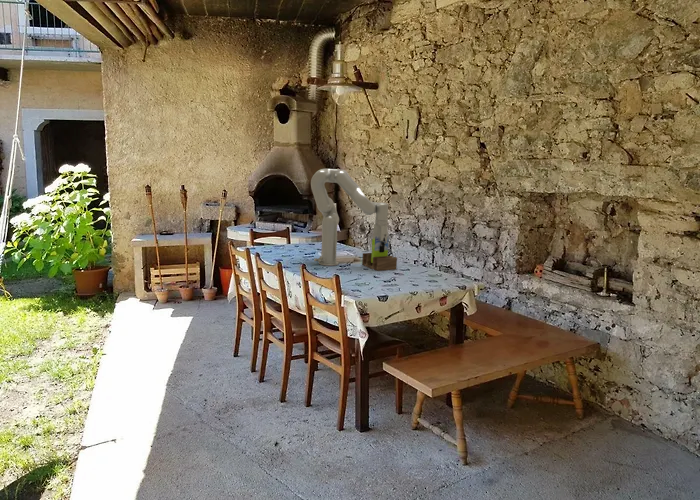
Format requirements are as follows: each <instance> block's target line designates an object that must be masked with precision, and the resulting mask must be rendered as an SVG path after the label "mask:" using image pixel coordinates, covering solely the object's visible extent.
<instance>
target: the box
mask: <svg viewBox="0 0 700 500" xmlns="http://www.w3.org/2000/svg"><path fill="white" fill-rule="evenodd" d="M389 240H390V235H387V243H386V244H385V246H384V252H379V251H380V241H378V236H376V237H375V239H373V238H372V239H371V253H372V254H371V263H373V257H381V256H389ZM382 243H383V242H382Z"/></svg>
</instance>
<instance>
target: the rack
mask: <svg viewBox="0 0 700 500" xmlns="http://www.w3.org/2000/svg"><path fill="white" fill-rule="evenodd" d="M371 254H372V252H365V253H363V252H362V260H361V261H362V262H361V265H362V266H364V267H366V268H368V269H372V270H374V271H376V272H383V271H393V270H397V267H398V266H397V264H398V257H397V256H393V255H388V256H381V257H373V263H371Z"/></svg>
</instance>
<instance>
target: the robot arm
mask: <svg viewBox="0 0 700 500" xmlns="http://www.w3.org/2000/svg"><path fill="white" fill-rule="evenodd" d="M326 183H335V184H337V185H338V186H340V188H341V189H342V190H343V191H344V192H345V193H346V194H347V195H348V197H350V199H351V200H352V201H353V202H354V204H356V206H357V207H358V208H359V209H360V210H361V211H362V212H363V213H364V214H365V215H368V216H371V215H374V214H375V220H374V221H375V222H374V226H373V233H372V239H375V237H376V236H378V241H380V251H379V252H384V246H385V244H386V243H387V236H389V234H388V216H389V203H387V202H376V201H370V200H369V198H368V197H366V195H365V193H364V192H363V191H362V189H361V187H360V185H359V184H358V183H357V182H356V181H354V180H353V178H352V177H351V175H349V173H348V171H347V170H345V169H336V168H321V169H319V170H317V171H316V172H315V173H314V174H313V176H312V177H311V180H310V189H311V192H312V194H313V198H314V200H315V204H316V207H317V210H318V211H319V212H320V213H321V214H322V219H321V255H320V256H319V257H318V258H317V257H315V258H314V259H313V261H314V262H318V264H319V265H321V266H328V267H331V266H333V267H334V266H337V265H339V261H337V250H338V249H337V248H338V247H337V246H338V245H337V244H338V225H339V222H340V217H339V214H338V211H337V208H336V206H335V202H334V200H333V199H332V198H331V197H329V195H328V191H327V189H326V186H325V184H326ZM382 242H383V243H382Z"/></svg>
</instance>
